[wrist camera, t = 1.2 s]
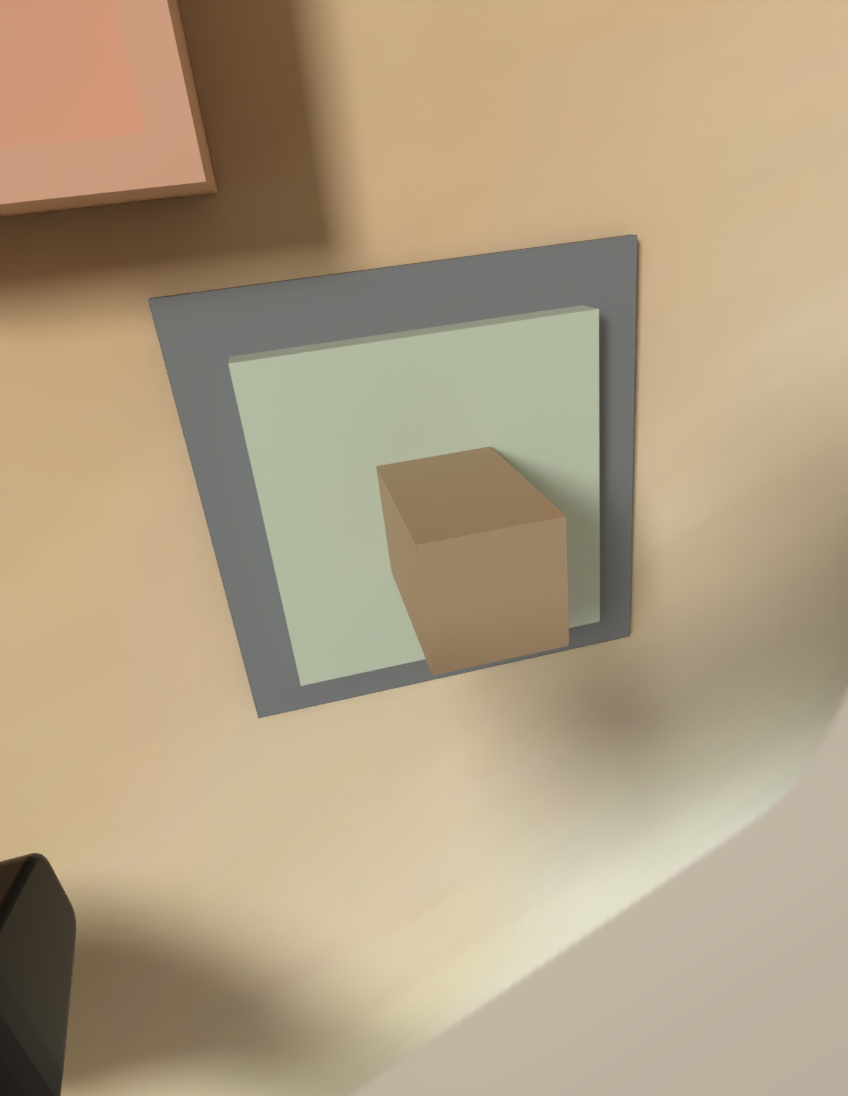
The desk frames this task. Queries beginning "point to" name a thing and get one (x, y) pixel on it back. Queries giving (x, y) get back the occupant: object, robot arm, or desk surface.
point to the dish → (97, 106)
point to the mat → (367, 310)
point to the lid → (430, 490)
